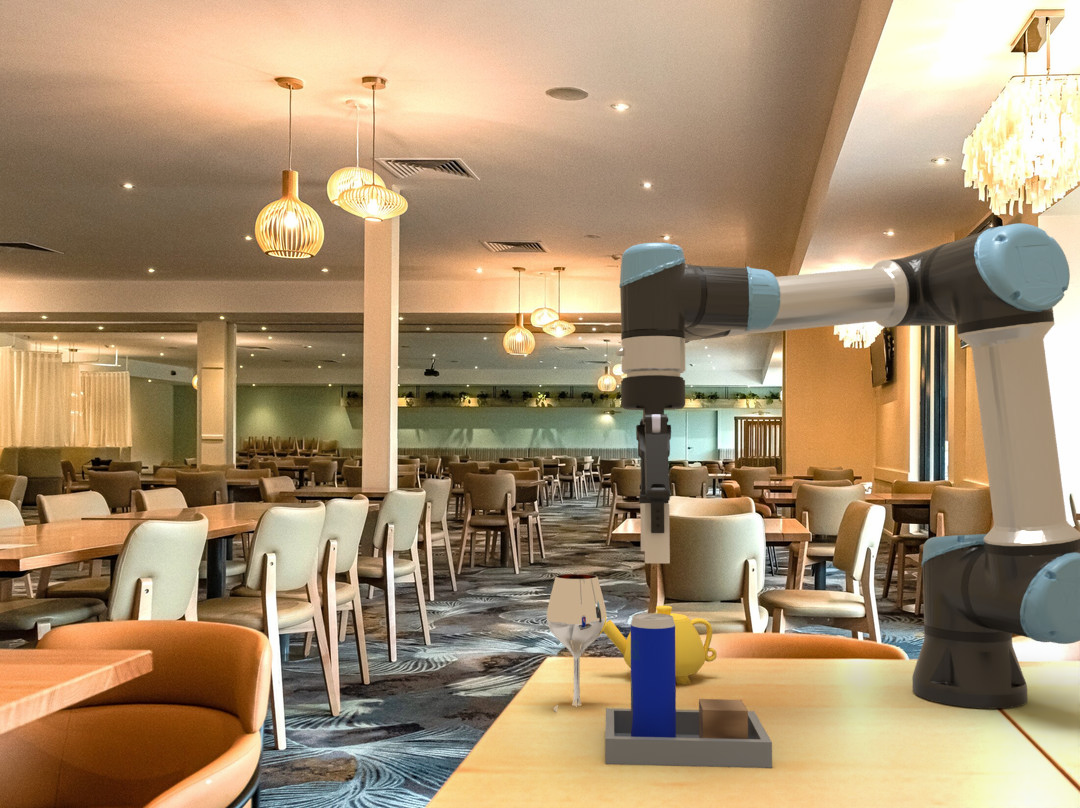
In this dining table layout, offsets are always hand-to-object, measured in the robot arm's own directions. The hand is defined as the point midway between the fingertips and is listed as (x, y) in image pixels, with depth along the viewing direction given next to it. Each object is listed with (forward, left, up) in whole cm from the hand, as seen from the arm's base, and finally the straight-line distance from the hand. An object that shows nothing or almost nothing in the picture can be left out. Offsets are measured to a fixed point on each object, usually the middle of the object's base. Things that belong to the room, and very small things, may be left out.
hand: (654, 557), depth 114 cm
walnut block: (-8, 0, -22) cm, 23 cm away
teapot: (-2, -40, -23) cm, 46 cm away
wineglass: (+10, -19, -23) cm, 31 cm away
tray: (-3, 0, -23) cm, 23 cm away
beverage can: (0, 0, -22) cm, 22 cm away
